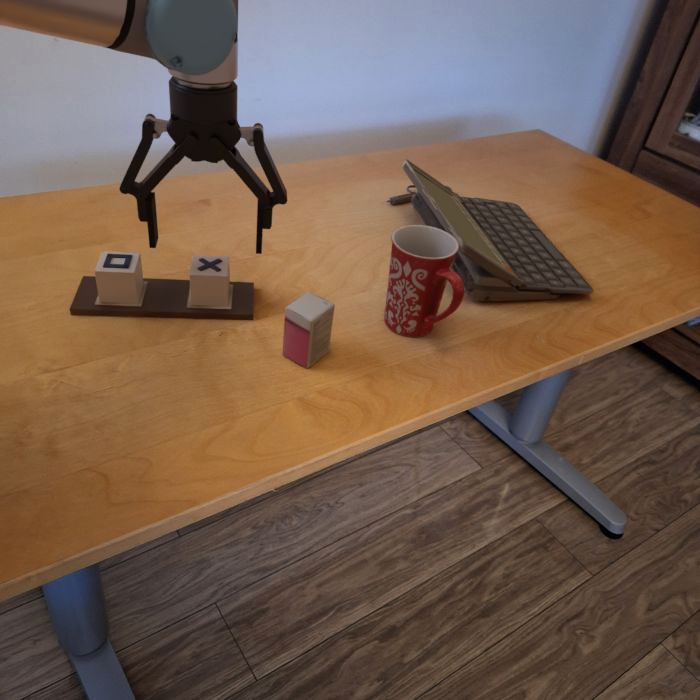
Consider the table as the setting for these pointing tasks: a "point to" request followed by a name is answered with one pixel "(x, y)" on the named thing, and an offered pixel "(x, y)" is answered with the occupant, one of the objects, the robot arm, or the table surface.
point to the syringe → (405, 196)
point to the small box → (307, 329)
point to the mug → (420, 279)
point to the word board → (165, 301)
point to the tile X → (209, 280)
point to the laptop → (494, 245)
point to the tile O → (119, 277)
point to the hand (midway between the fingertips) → (207, 246)
